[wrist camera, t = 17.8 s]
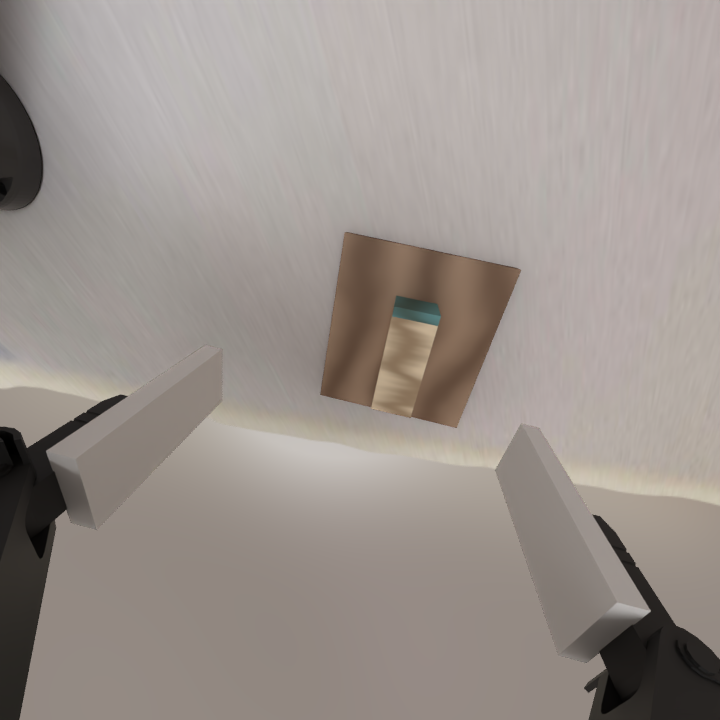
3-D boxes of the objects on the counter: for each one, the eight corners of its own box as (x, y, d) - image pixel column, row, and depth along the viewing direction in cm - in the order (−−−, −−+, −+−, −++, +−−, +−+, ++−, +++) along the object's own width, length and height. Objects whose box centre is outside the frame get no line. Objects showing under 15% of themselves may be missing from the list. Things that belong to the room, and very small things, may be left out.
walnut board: (322, 390, 41) (320, 394, 40) (346, 232, 32) (344, 232, 32) (455, 423, 40) (456, 427, 39) (517, 268, 31) (521, 270, 31)
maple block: (410, 396, 38) (437, 304, 33) (410, 417, 34) (441, 316, 29) (375, 388, 39) (396, 295, 33) (371, 408, 35) (394, 306, 29)
